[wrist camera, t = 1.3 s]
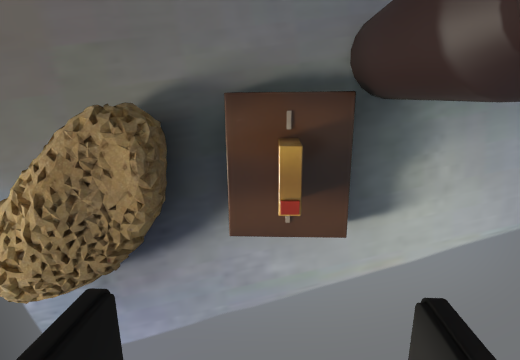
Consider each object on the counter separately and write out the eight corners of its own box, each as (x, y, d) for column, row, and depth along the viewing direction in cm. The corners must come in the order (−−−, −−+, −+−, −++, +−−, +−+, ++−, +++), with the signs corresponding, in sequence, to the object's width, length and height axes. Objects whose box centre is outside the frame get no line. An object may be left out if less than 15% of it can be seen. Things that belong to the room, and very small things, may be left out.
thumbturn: (278, 138, 25) (278, 146, 21) (298, 138, 25) (303, 146, 21) (278, 198, 26) (278, 217, 22) (297, 198, 26) (301, 217, 22)
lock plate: (229, 92, 27) (223, 92, 24) (347, 91, 27) (356, 91, 24) (233, 222, 30) (229, 237, 27) (339, 224, 30) (346, 238, 27)
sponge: (71, 284, 34) (221, 227, 27) (-9, 328, 27) (168, 266, 20) (19, 173, 34) (158, 86, 27) (-76, 187, 27) (80, 73, 20)
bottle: (446, 73, 26) (938, 8, 7) (369, 113, 27) (597, 158, 8) (415, -8, 25) (919, -385, 5) (334, 38, 26) (507, -132, 6)
